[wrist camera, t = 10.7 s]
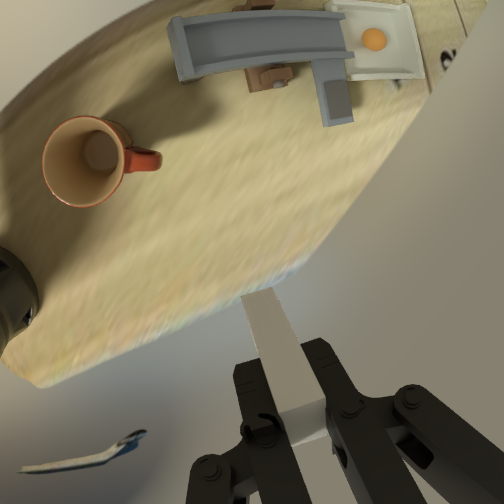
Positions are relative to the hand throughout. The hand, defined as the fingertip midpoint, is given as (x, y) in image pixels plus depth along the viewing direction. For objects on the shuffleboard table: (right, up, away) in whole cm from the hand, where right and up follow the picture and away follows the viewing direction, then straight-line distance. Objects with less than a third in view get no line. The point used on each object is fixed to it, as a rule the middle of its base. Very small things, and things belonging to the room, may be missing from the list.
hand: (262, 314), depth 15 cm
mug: (-17, +15, +19) cm, 30 cm away
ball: (+16, +31, +16) cm, 38 cm away
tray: (+16, +32, +18) cm, 40 cm away
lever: (+2, +22, +14) cm, 26 cm away
